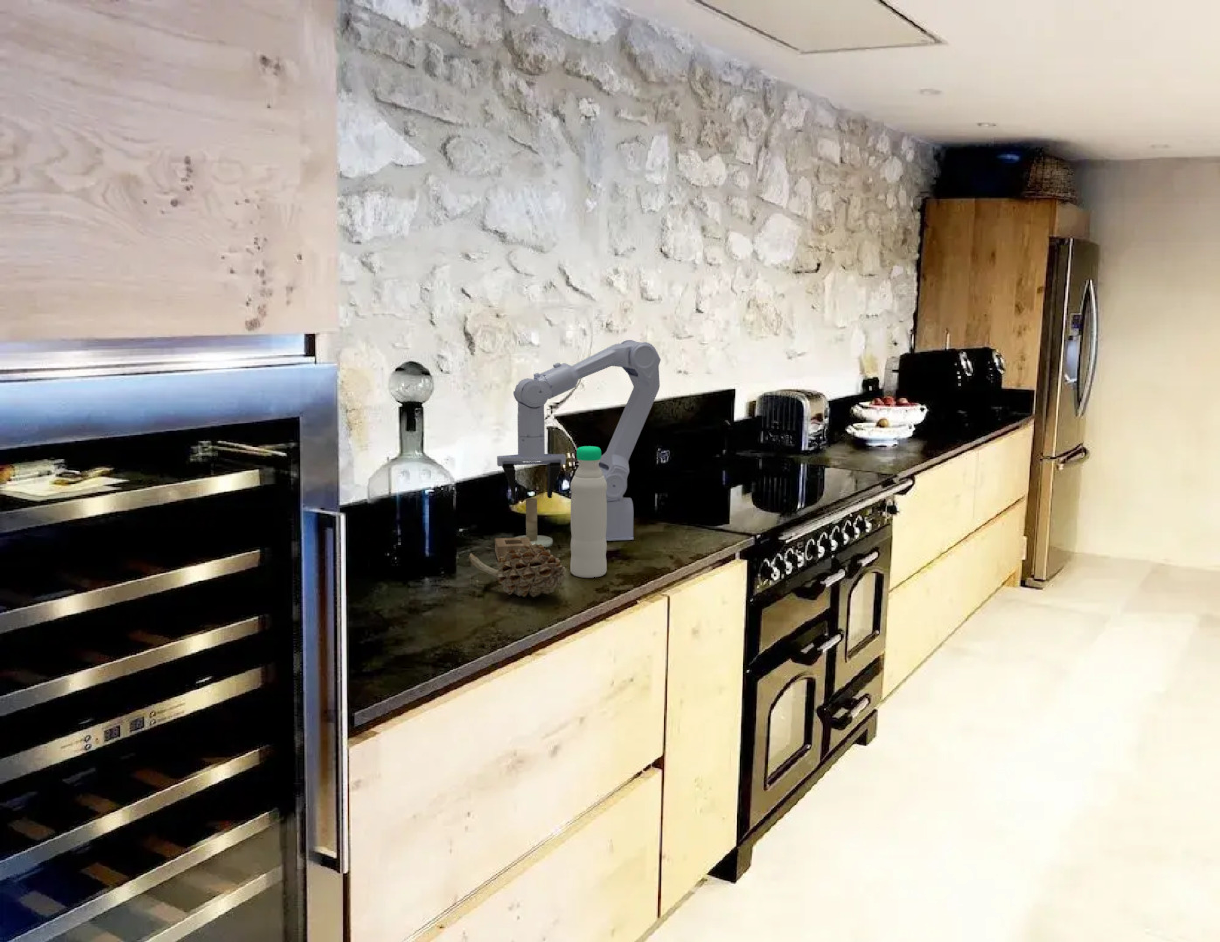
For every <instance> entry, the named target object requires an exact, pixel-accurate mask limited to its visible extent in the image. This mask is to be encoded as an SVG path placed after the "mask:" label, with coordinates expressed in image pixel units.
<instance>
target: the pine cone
mask: <svg viewBox="0 0 1220 942" xmlns="http://www.w3.org/2000/svg"><path fill="white" fill-rule="evenodd" d="M468 558H469V561H470V563H471V564H472V565H473V566H474V567H476V568H477V569H478V570H481V571H483V572H484V573H486V574H488V575H491V576H493V577H496V578H497V579H498V583H499V584H501V585H502V589H503V592H504V593H507V595H512V594H514V595H517V596H518V597H521V596H522V597H524V598H525V597H526V596H527V595H528V593H529V595H530V596H531V597H533V598H535V597H539V596H540V594H541V593H543V594H545V595H546V594H547V595H549V594H550V593H553V592H554V590H555V588H558V587H561V586H562V584H563V583H564V581H565V580H566V579H567V577H566V575H565V571H566V567H565V566H563V565H562V564H561V559H560V558H559V557H556V556H554V555H553V554H551V550H550V549H549V548H548V549H546V547H545V548H544V547H543V545H541V544H540V545H537V544H533V545H532V546H531V547H530V546H529V545H528V544H527V545H525V546H522V547H521V548H520V549H517V550H516V551H515V550H513V549H511V550H510V551H509V552H507V553H506V555H505V556H503V557H500V558H499V561H498V563H496V566H497V569H495V568H493V567H490V566H488V565H487V564H485V563H484V562H482V561H481V560H480V559H479V558H478V557H477V556H475V555H474V554H473V553H470V554H469V555H468Z"/></svg>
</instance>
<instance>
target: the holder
mask: <svg viewBox="0 0 1220 942" xmlns="http://www.w3.org/2000/svg"><path fill="white" fill-rule="evenodd" d="M527 544H528V545H529V546H530V547H531V546H532V544H531V542H530V540H529V538H528V537H525V538H514V537H505V538H501V537H500V538H499V537H498V538H495V539H494V550H495V551H494V553H495V557H496V559H497V561H498V562H499V558H500V557H503V556H505V555H506V553H507V552H509V551H510V550H511V549H513V550H515V551H516V550H517V549H520V548H521V547H522V546H525V545H527Z"/></svg>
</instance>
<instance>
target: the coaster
mask: <svg viewBox="0 0 1220 942" xmlns="http://www.w3.org/2000/svg"><path fill="white" fill-rule="evenodd" d="M525 537H526V534H525V535H518V536H515V537H513V538H525ZM530 542H531V544H532V545H533V544H537V545H540V544H541V545H543V547H545V548H548V547H551V546H552V545H553V542H554V541H553V538H552V537H550V536H547V535H542V534H541V535H540V534H539V535H538V534H537V541H530Z"/></svg>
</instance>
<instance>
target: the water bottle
mask: <svg viewBox="0 0 1220 942" xmlns="http://www.w3.org/2000/svg"><path fill="white" fill-rule="evenodd" d="M601 456H602V450H601V448H600V447H599V446H593V445H592V446H591V445H588V446H587V445H584V446H579V447H578V448H577V449H576V459H577V460H576V461H577V462H578V466H577V468H576V470H575V472H574V475H573V477H572V479H571V482H570V490H571V495H570V496H571V498H570V532H571V533H570V534H571V539H570V554H571V557H570V573H571V574H572V575H573V576H574V577H577V578H578V577H579V578H583V579H584V578H585V579H593V578H594V577H595V578H599V577H602V576H604V575H606V573H607V570H608V567H607V565H608V564H607V563H608V562H607V555H606V554H607V550H608V549H607V548H608V547H607V541H606V527H607V499H606V490H607V482H606V480H605V478H604V476H603V473H602V471H601V469H600V467H599V462H600V461H601V460H600V459H601Z"/></svg>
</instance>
